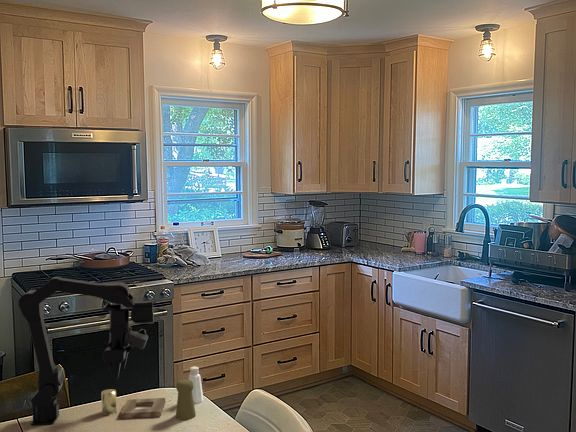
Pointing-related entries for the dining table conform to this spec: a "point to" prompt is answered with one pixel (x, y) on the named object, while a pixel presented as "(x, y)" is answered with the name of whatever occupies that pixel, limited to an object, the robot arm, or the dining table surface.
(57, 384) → the robot arm
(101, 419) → the dining table surface
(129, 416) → the socket board
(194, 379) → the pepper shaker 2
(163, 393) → the dining table surface
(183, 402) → the pepper shaker
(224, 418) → the dining table surface
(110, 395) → the brass pin
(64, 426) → the dining table surface
